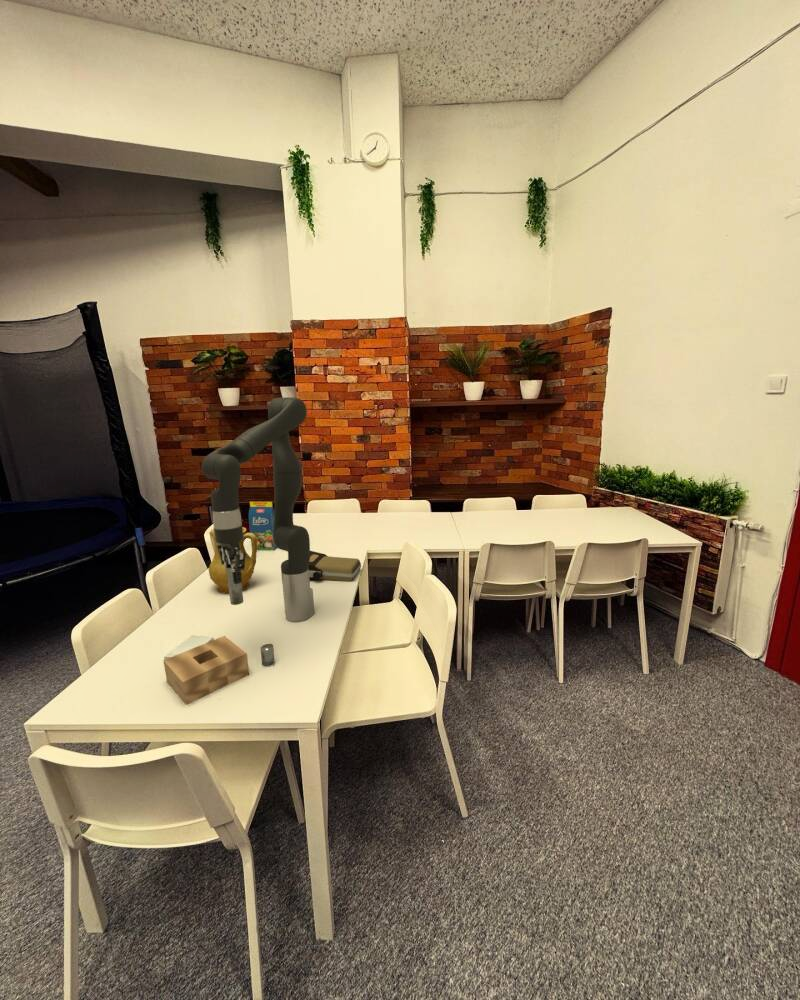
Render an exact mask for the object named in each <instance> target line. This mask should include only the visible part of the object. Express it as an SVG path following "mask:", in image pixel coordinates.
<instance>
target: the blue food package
mask: <svg viewBox="0 0 800 1000" xmlns="http://www.w3.org/2000/svg"><path fill="white" fill-rule="evenodd" d="M274 514H275V507H273V501H249V509H248V524H249V525H248V527H249V533H253V534H255V535H256V538H257V551H275V550H276V549H278V548H277V547H276V545H275V543H274V539H273V530H274ZM250 542H251V544H250V545H251V546H252V541H251V540H250Z"/></svg>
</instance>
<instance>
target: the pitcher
mask: <svg viewBox="0 0 800 1000" xmlns="http://www.w3.org/2000/svg"><path fill="white" fill-rule="evenodd" d="M242 529H243V539H242V540H241V541H240V542H239V546H240V550H241V552H245V553H246V558H245V569H244V570H241V577H242V582H241V584H242V591H244V590H246V589H248V588H249V587H250V585H251V584H250V583H249V581H250V580H251V578H252V576H253V574H254V573H255V566H256V563H257V553H258V550H257V538H256V535H255V534H253V533H250V532H247V528H246V527H244V526H242ZM209 534H210V536H212V539H213V541H214V550H215V551H214V555H213V557H212V561H211V562H210V564H209V567H208V574H209V575H208V576H209V579H210V580H211V582H213V583H214V584H215V585H217V586H218V587H217V591H218V592H219V593H222V594H225V595H226V594H228V595H230V594H229V586H228V579H227V573H226V568H225V567H224V564H223V565H222V563H221V560H220V556H219V552H218V549H217V545H220V544H219V543H217V542H216V541H215V533H214V529H213V530H211V531H209ZM246 539H249V540H250V542H251V541H252V545H251V556H250V555H249V554H248V553H247V551H246V549H245V548H246V547H245V545H244V543H245V541H246ZM234 561H235V559H234ZM234 565H235V564H234Z"/></svg>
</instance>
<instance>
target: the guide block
mask: <svg viewBox="0 0 800 1000" xmlns="http://www.w3.org/2000/svg"><path fill="white" fill-rule="evenodd" d="M248 660H249V659H248V653H247V652H246V651H245V650H244V649H242V648H240V647H239V646H238V644H236V643H235V642H233V641H232V640H230V639H229V638H228V637H227V636H226V635H223V636H220V637H218V638H216V639H214V640H213V641H210V642H208V643H205V644H203V645H200V646H198V647H195V648H193V649H190V650H188V651H185V652H183V653H180V654H178V655H175V656H173V657H170V658H168V659H165V660H164V659H163V661H162V662H163V666H164V673H165V679H166V682H167V683H168V685H169V686H170V687H171V689H172V690H173V691H174V692H175V693H176V694H177V695H178V697H179V698H180V699H181V700H182V701H183V703H184V704H185V705H189V704H191V703H193V702H195V701H197V700H199V699H201V698H203V697H205V696H207V695H209V694H211V693H213V692H216V691H217V690H219V689H222V688H224V687H226V686H229V684H232V683H234V682H237V681H239V680H240V679H242V678H245V677H247V676H249V675H250V670H249V661H248Z"/></svg>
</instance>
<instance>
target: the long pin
mask: <svg viewBox="0 0 800 1000" xmlns="http://www.w3.org/2000/svg"><path fill="white" fill-rule="evenodd" d="M234 566H235V565H234ZM226 570H227V578H228V586H229V594H228V595H229V601H230V605H232V606H237V605H241V604H243V603H244V595H243V590H242V584H241V583H238V584H234V582H233V574H232V568H231V566H228V567H227V568H226Z"/></svg>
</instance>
